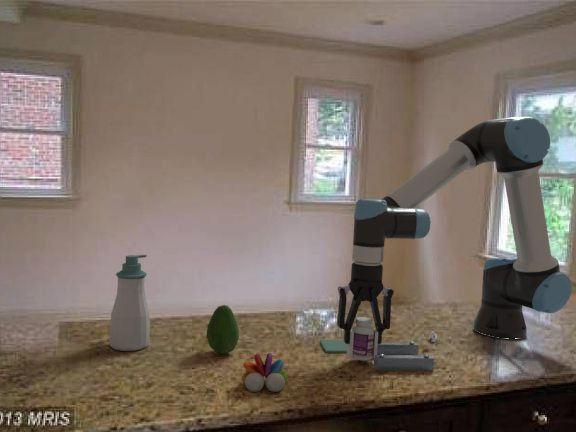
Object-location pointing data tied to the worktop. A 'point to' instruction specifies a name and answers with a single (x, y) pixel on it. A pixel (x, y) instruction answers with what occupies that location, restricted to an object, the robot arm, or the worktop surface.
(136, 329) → the soap bottle
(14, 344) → the worktop surface
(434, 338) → the adhesive hook
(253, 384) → the rainbow fan toy
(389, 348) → the channel
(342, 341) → the pad
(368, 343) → the pill bottle
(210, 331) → the avocado
